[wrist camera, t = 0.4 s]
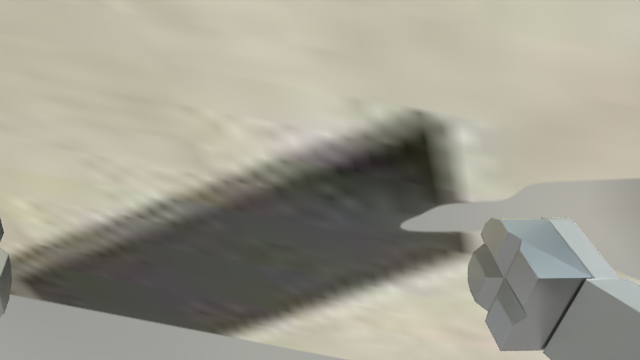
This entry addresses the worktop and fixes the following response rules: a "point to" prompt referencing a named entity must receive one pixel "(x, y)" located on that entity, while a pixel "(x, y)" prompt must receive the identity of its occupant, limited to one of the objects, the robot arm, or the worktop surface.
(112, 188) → the worktop surface
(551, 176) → the worktop surface
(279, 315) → the worktop surface
